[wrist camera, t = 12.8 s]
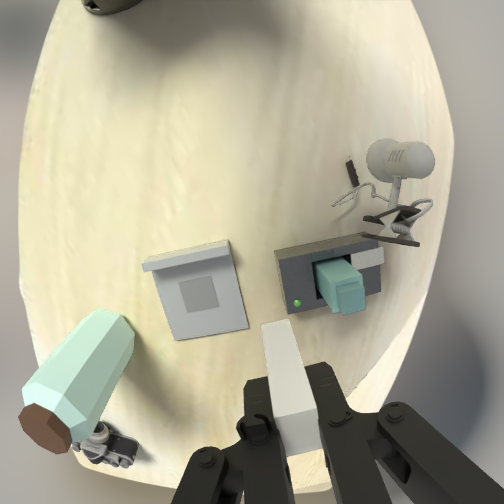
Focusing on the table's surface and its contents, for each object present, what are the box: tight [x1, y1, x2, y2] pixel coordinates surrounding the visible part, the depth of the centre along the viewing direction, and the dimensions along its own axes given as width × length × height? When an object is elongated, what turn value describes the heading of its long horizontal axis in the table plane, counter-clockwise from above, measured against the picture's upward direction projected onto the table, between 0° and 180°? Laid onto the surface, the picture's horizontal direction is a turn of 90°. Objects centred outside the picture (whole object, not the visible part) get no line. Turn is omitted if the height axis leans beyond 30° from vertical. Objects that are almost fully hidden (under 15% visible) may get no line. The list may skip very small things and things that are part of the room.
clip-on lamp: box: [331, 139, 435, 247], centre depth 32 cm, size 12×6×18 cm, turn 171°
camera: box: [72, 421, 139, 468], centre depth 47 cm, size 16×8×10 cm, turn 77°
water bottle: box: [18, 308, 135, 454], centre depth 33 cm, size 10×10×25 cm
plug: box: [312, 256, 366, 315], centre depth 37 cm, size 4×4×12 cm
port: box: [274, 232, 384, 314], centre depth 41 cm, size 8×15×5 cm, turn 102°
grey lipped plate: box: [142, 240, 249, 340], centre depth 42 cm, size 14×12×4 cm
